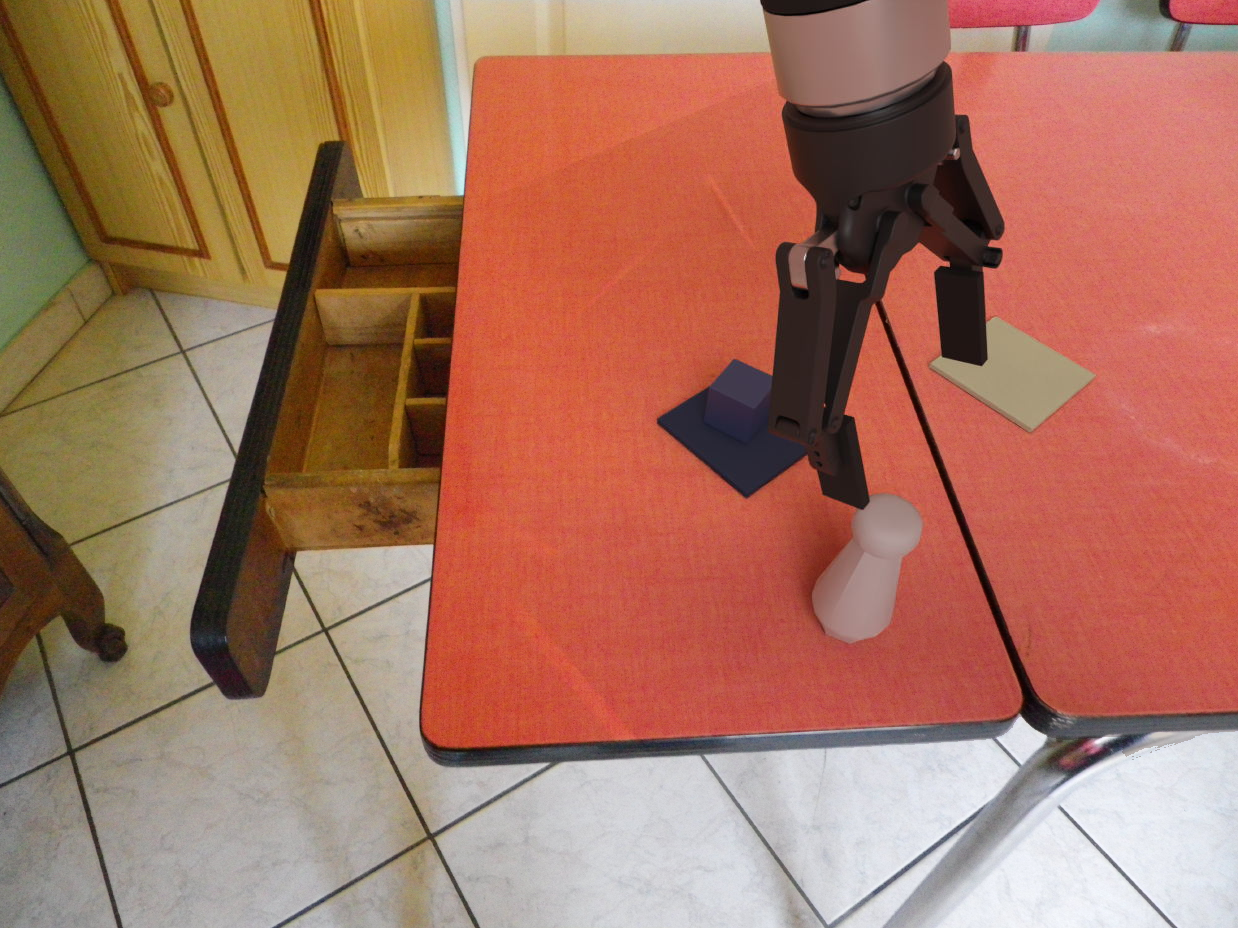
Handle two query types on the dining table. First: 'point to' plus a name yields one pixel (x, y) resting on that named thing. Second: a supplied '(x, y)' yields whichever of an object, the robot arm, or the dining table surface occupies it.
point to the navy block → (739, 401)
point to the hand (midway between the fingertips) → (908, 425)
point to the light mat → (1017, 376)
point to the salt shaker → (867, 570)
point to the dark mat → (731, 447)
